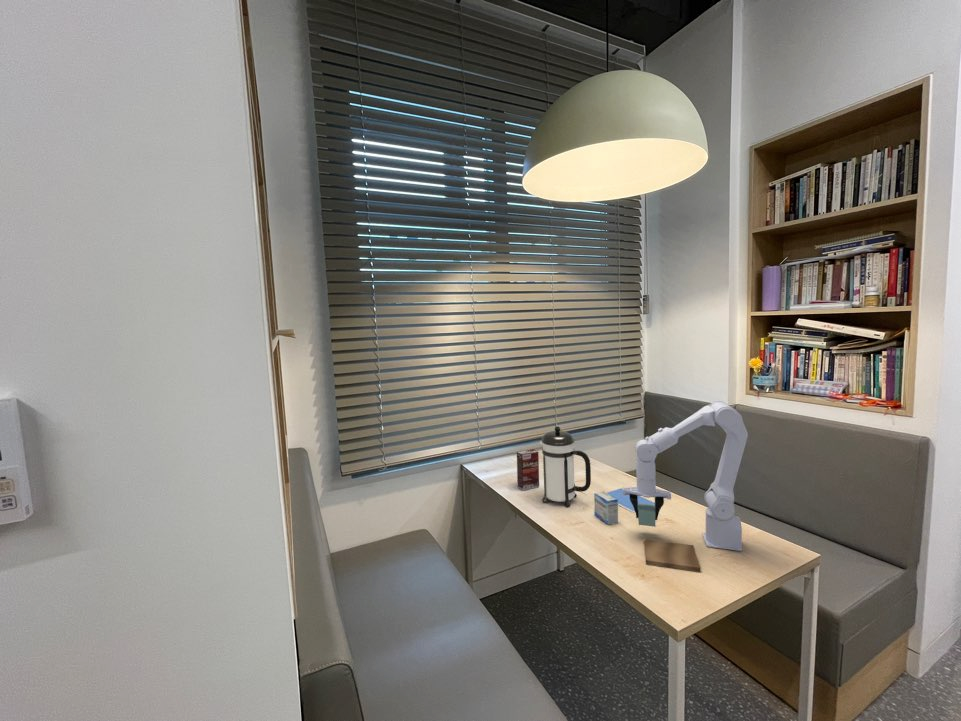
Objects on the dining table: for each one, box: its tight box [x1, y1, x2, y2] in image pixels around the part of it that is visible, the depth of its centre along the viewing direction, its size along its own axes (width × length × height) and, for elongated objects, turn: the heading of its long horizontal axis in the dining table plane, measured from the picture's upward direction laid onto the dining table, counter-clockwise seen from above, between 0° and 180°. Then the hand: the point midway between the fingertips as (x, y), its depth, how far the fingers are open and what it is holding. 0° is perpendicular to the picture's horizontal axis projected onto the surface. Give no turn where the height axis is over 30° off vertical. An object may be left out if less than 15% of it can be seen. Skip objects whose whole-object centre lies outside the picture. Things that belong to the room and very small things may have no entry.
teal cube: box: [637, 503, 656, 528], centre depth 131 cm, size 5×5×5 cm
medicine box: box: [593, 490, 619, 525], centre depth 143 cm, size 8×4×9 cm, turn 21°
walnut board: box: [643, 538, 701, 573], centre depth 119 cm, size 14×12×1 cm
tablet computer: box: [606, 487, 655, 514], centre depth 157 cm, size 19×13×1 cm, turn 27°
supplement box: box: [516, 449, 540, 492], centre depth 174 cm, size 9×5×16 cm, turn 114°
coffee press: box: [538, 426, 592, 508], centre depth 159 cm, size 17×16×30 cm
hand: (646, 517), depth 131 cm, fingers closed on teal cube, 5 cm apart
